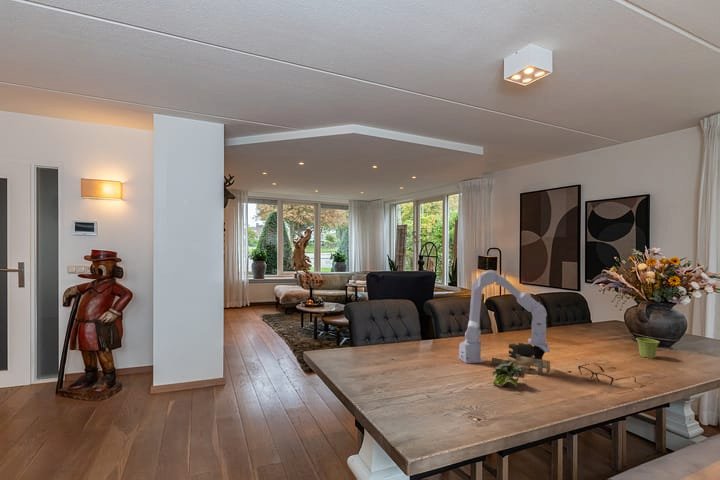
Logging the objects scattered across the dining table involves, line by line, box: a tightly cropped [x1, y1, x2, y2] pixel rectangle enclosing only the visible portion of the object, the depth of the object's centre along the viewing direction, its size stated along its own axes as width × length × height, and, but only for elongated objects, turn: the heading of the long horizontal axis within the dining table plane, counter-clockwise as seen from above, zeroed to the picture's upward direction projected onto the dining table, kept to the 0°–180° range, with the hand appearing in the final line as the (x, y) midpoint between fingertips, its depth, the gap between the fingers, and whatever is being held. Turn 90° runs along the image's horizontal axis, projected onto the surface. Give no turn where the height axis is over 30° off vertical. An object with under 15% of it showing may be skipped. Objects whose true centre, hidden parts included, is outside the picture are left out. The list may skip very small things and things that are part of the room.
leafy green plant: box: [491, 359, 524, 390], centre depth 134 cm, size 11×11×12 cm
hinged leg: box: [515, 354, 551, 376], centre depth 151 cm, size 14×3×6 cm, turn 58°
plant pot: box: [635, 337, 660, 360], centre depth 178 cm, size 9×9×9 cm
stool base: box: [490, 357, 548, 378], centre depth 154 cm, size 22×22×6 cm
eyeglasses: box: [577, 363, 637, 386], centre depth 146 cm, size 16×16×4 cm
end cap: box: [508, 342, 534, 360], centre depth 170 cm, size 10×7×7 cm
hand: (538, 363), depth 152 cm, fingers closed
